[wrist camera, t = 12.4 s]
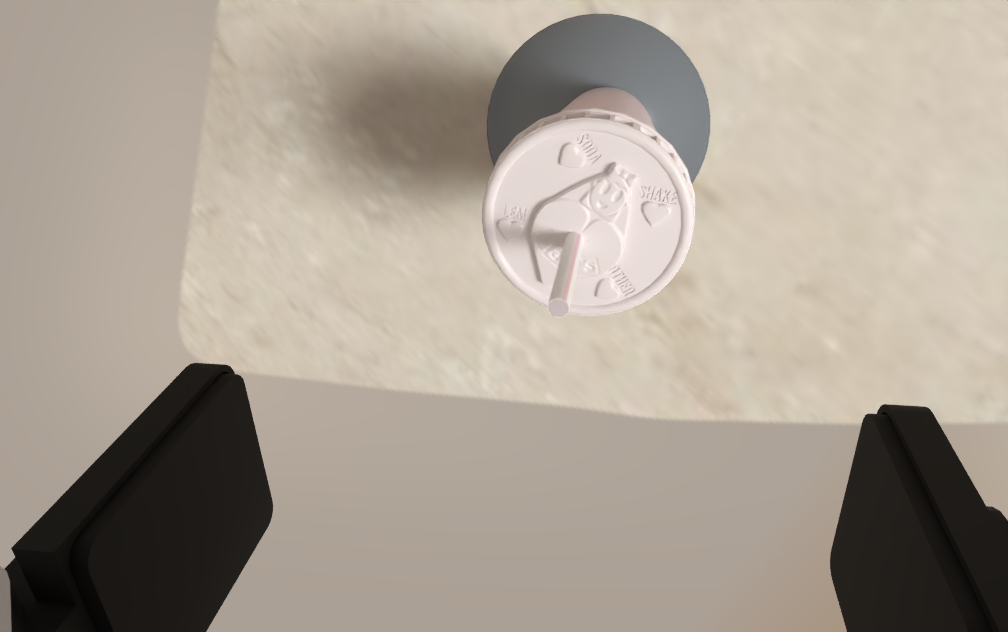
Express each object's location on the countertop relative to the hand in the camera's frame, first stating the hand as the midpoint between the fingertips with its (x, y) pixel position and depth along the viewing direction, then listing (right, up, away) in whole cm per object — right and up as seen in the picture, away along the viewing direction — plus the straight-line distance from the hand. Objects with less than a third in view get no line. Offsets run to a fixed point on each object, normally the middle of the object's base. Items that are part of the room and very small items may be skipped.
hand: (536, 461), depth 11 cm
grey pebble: (+3, +10, +20) cm, 23 cm away
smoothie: (+4, +10, +19) cm, 22 cm away
